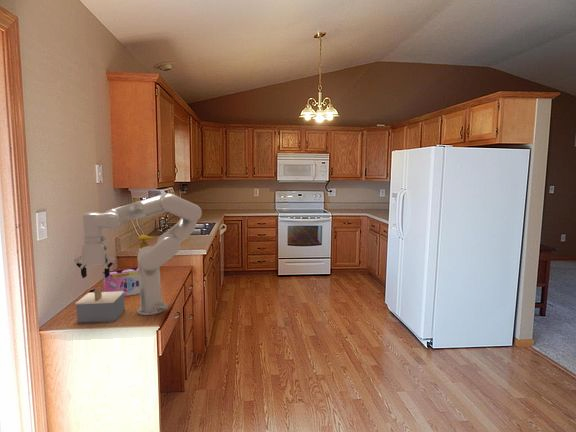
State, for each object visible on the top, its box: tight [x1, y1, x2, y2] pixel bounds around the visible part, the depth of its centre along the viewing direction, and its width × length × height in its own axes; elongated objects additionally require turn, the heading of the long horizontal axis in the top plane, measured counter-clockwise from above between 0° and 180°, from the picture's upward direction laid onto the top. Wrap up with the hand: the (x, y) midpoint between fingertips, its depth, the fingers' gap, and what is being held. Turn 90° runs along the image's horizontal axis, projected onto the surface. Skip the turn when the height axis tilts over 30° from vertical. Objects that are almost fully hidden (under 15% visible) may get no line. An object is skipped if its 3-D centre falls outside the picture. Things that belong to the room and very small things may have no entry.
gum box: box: [102, 266, 140, 297], centre depth 206 cm, size 24×8×14 cm, turn 124°
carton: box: [75, 293, 126, 324], centre depth 174 cm, size 14×16×9 cm
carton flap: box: [74, 286, 124, 305], centre depth 172 cm, size 14×16×6 cm
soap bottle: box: [137, 234, 155, 252], centre depth 228 cm, size 13×10×29 cm
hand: (95, 276), depth 168 cm, fingers open, 9 cm apart
